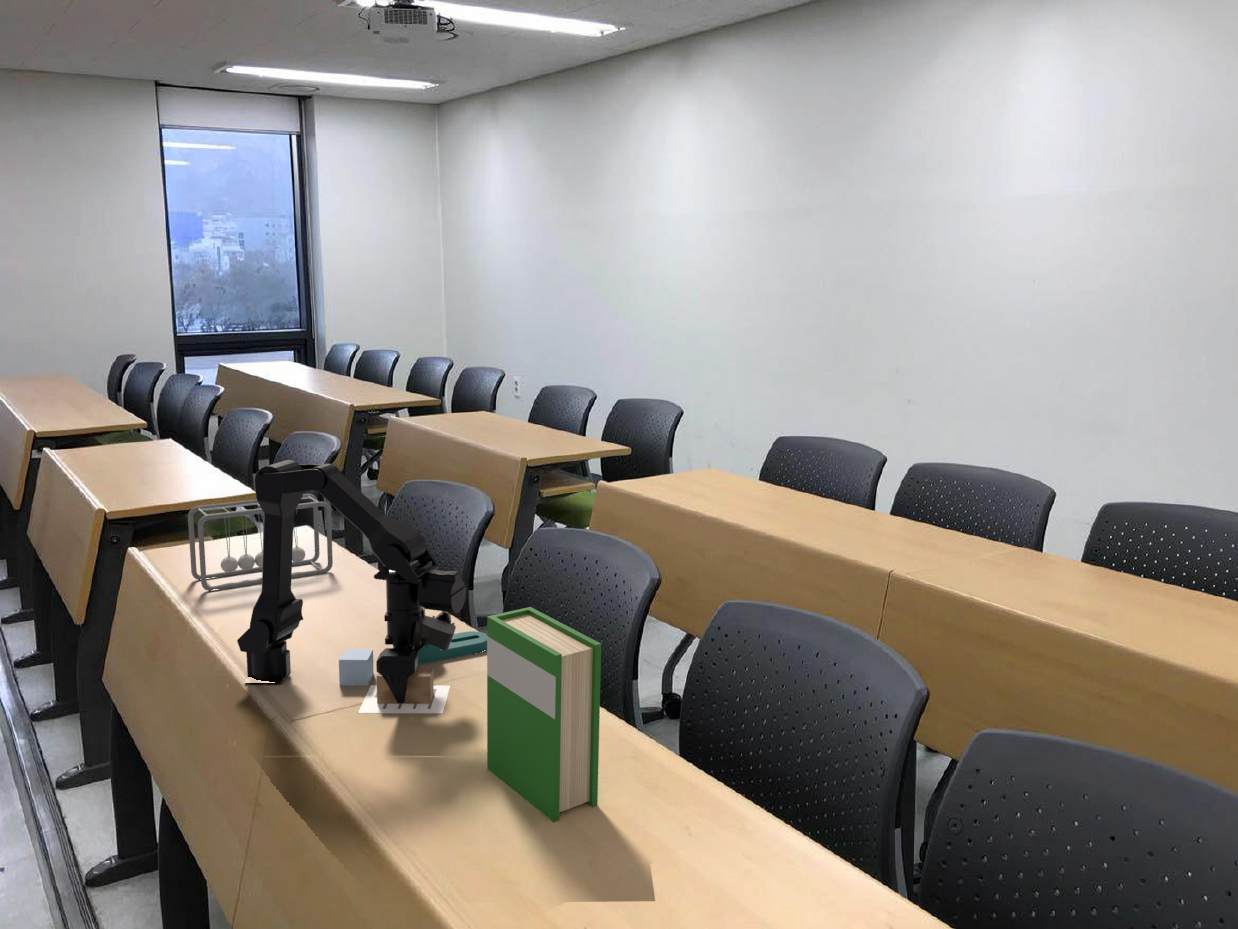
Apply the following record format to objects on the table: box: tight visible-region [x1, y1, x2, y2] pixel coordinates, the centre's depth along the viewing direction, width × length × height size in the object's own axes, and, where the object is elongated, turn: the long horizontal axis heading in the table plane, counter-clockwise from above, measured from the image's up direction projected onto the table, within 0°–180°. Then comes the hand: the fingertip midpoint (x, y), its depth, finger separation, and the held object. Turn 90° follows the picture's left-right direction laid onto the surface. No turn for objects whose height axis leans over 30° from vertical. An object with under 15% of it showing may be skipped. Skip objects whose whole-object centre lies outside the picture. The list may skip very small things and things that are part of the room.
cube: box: [338, 648, 375, 686], centre depth 176 cm, size 5×5×5 cm
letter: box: [357, 684, 451, 714], centre depth 169 cm, size 14×11×1 cm
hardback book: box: [486, 606, 602, 823], centre depth 140 cm, size 18×7×24 cm, turn 38°
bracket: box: [392, 630, 487, 665], centre depth 189 cm, size 18×7×8 cm, turn 122°
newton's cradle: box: [187, 493, 334, 591], centre depth 231 cm, size 30×10×18 cm, turn 126°
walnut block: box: [376, 666, 435, 704], centre depth 169 cm, size 9×4×5 cm, turn 93°
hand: (405, 691), depth 169 cm, fingers open, 9 cm apart
